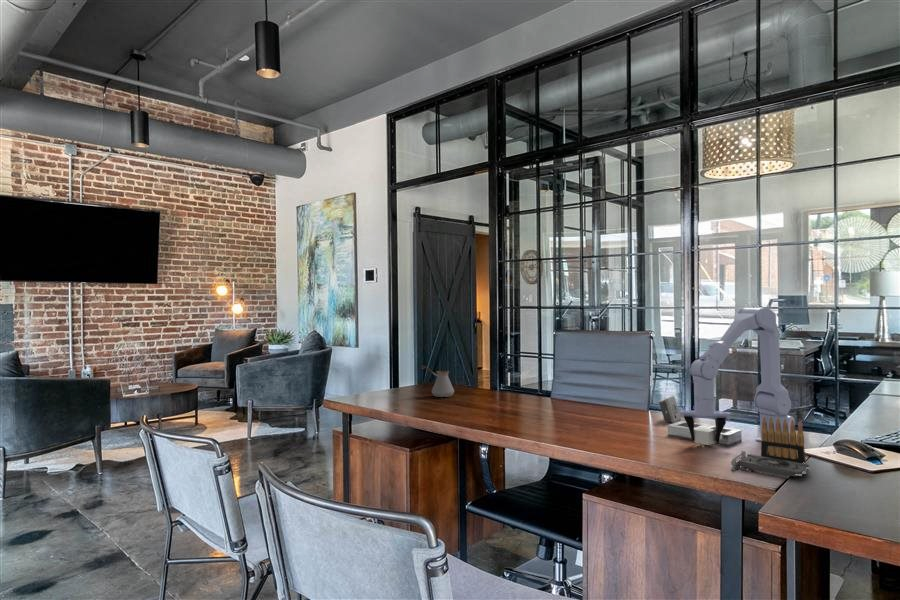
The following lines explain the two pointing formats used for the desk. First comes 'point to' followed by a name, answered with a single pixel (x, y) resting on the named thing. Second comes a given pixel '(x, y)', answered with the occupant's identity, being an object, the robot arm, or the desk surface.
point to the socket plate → (683, 431)
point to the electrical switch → (670, 410)
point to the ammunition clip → (783, 441)
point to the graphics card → (768, 465)
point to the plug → (705, 436)
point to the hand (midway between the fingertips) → (705, 441)
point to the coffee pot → (441, 384)
